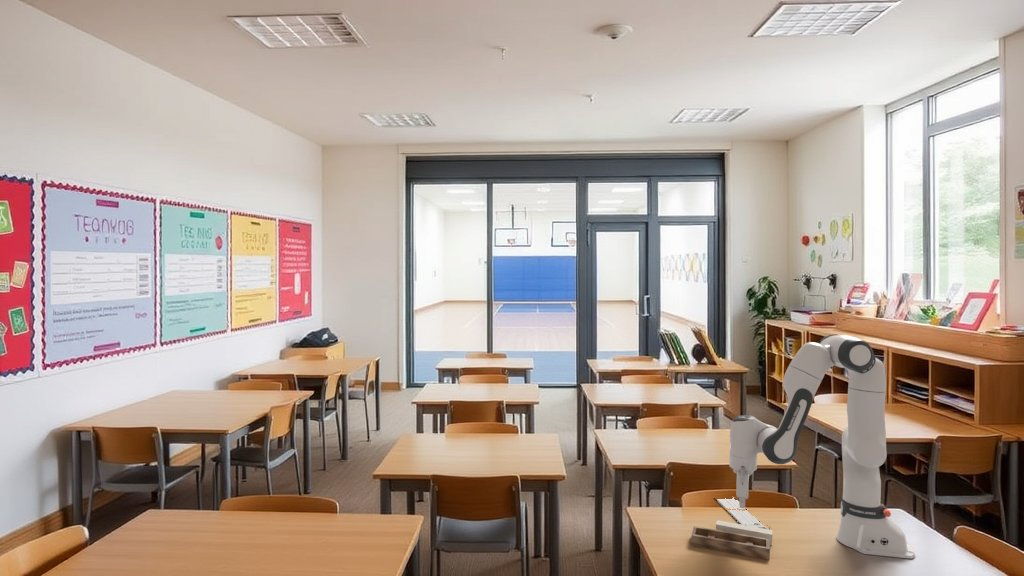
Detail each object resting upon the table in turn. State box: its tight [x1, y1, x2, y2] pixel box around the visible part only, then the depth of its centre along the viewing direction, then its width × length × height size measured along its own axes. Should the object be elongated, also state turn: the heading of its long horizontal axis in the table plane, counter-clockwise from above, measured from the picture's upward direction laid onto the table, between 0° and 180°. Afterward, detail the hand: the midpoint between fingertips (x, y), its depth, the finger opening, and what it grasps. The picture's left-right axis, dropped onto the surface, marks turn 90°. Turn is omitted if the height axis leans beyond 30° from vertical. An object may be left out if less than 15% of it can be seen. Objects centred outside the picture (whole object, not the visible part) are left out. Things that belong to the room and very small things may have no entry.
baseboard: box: [716, 497, 769, 529], centre depth 226 cm, size 30×3×10 cm
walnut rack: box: [690, 525, 771, 561], centre depth 196 cm, size 24×8×4 cm, turn 68°
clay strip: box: [715, 520, 773, 546], centre depth 204 cm, size 18×4×4 cm, turn 66°
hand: (742, 502), depth 204 cm, fingers open, 8 cm apart
